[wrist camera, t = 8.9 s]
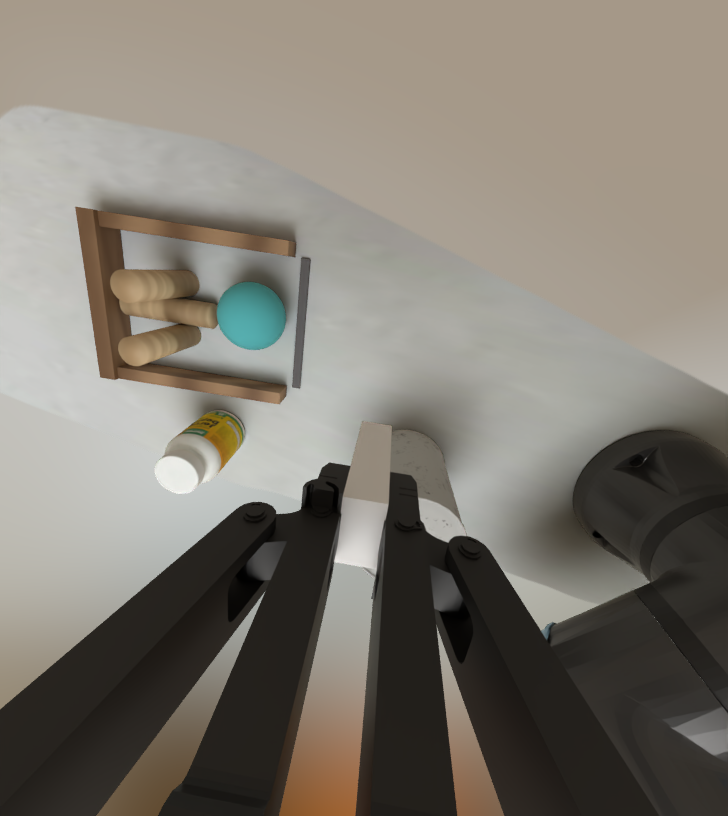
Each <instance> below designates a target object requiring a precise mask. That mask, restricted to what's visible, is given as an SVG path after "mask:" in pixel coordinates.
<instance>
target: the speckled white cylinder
mask: <svg viewBox="0 0 728 816" xmlns="http://www.w3.org/2000/svg"><path fill="white" fill-rule="evenodd" d="M390 472H395V473H401V474H407V475H412V477H413V478H414V480H415V481H416V482H417V490H418V491H417V492H418V500H419V510H420V520H421V521H422V522H423V523H424V526H425V528H426V531H427V532H428V533H429V534H431V535H432V536H434V537H436V538H438V539H440V540H443V541H445V542H448V543H449V541H450V539H452V538H453V537H454V536H467V535H466V531H465V528H464V525H463V524H462V522H461V518H460V515H459V512H458V508H457V505H456V501H455V498H454V494H453V491H452V488H451V484H450V481H449V477H448V474H447V470H446V467H445V461H444V457H443V454H442V452H441V450H440V448H439V447H438V445H437V444H436V443H435V442H434V441H433V440H432V439H431V438H429V437H427V436H426V435H424V434H422V433H419V432H416V431H412V430H394V431H392V435H391V459H390ZM361 568H362V569H363V570H364V571H365V572H366V573H367V574H369V575H370V576H371V577H373V578H375V577H376V571H377V569H371V568H365V567H361Z"/></svg>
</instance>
